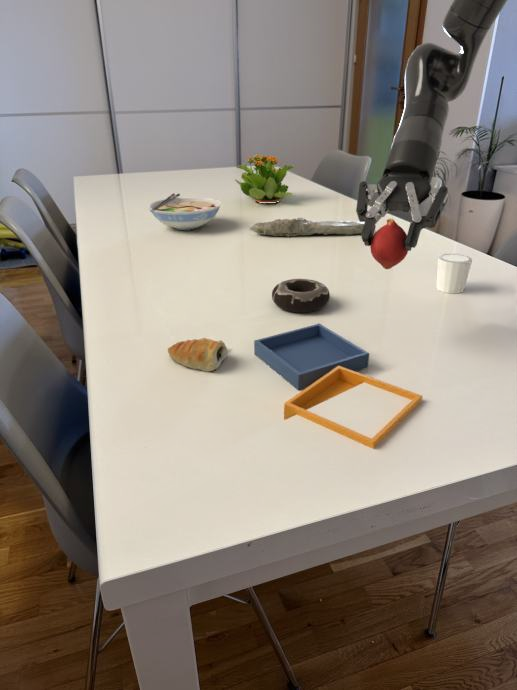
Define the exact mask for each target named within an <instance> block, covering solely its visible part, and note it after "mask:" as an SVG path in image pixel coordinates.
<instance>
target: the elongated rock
mask: <svg viewBox="0 0 517 690" xmlns="http://www.w3.org/2000/svg"><path fill="white" fill-rule="evenodd" d="M364 223H365V222H364V221H363V222H361V221H356V220H345V221H344V220H343V221H340V220H339V221H336V220H326V221H323V220H322V221H321V220H320V221H313V220H308V219H306V218H304V217H297V218H291V219H289V218H284V219H281V218H277V219H274V220H272V221H265V222H256V223H254V224H253V225H252V231H253V232H254V233H257V234H258V235H267V236H273V237H283V236H284V237H287V238H290V237H297V236H311V235H314V234H318V235H321V234H322V235H324V236H326V235H335V234H336V235H346V236H347V235H349V236H352V235H356V234H357V235H359V234H361V233H362V230H363V226H364Z"/></svg>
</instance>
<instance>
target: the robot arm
mask: <svg viewBox="0 0 517 690" xmlns="http://www.w3.org/2000/svg"><path fill="white" fill-rule="evenodd" d="M507 2H508V0H453V1H452V2H451V4H450V6H449V7H448V10H447V12H446V13H445V16H444V18H443V21H442V28H443V30H444V32H445V33H446V34H447V35H448V36H449V37H450V38H451V39H452V40H454V41H455V42H456V43H457V44H458V45H459V46H460V49H461V50H460V52H459V53H456V52H454V51H453V50H450V49H448V48H445V47H443V46H440V45H438V44H436V43H433V42H425V43H422V44H420V45H418V46H416V47H415V49H414V50H413V51H412V52H411V54H410V56H409V58H408V60H407V63H406V67H405V72H404V94H405V95H404V96H405V99H404V109H403V113H402V116H401V119H400V123H399V126H398V128H397V131H396V132H395V135H394V137H393V140H392V143H391V147H390V150H389V153H388V156H387V160H386V163H385V166H384V168H383V169H384V170H383V172H382V176H381V178H380V179H379V180H378V182H377V183H371V184H368V183H367V181H364V180H363V181H360V183H359V185H358V193H357V200H356V201H357V202H356V209H355V212H356V215H357V218H358V222H365V223H364V226H363V230H362V233H360V236H361V241H362V242H363V244H364V246H365V247H370V244H371V239H372V237H373V235H374V234H375V231H376V228H377V226H376V224H377V223H378V222H379V221H380V220H381V219H382V218H384V217H385V216H386V215H387V214H388V213H389V212H397V211H399V212H403V213H409V212H410V216H411V220H412V222H410V224H409V227H408V230H407V233H406V234H407V237H406V241H405V249H406V251H408V252H411V251H412V249H413V248H416V247H417V245H418V242H419V238H420V234H421V232H422V230H423V229H425V228H428V229H434V228H435V227H436V226H437V223H438V221H439V220H440V217H441V215H442V213H443V211H444V209H445V207H446V205H447V202H448V199H449V192H448V190H449V189H448V187H447V186H440V188H436V187H432V184H431V183H432V179H433V176H434V173H435V169H436V165H437V162H438V159H439V157H440V153H441V152H440V151H441V147H442V141H443V140H442V139H443V134H444V130H445V127H446V124H447V121H448V117H449V111H450V106H449V102H453V101H454V100H457V99H458V98H459V97H460V96H462V95H463V93H464V92H465V90H466V88H467V86H468V84H469V81H470V78H471V75H472V72H473V69H474V65H475V62H476V59H477V58H478V57H477V56H478V54H479V52H480V49H481V46H482V45H483V43H484V40H485V39H486V36H487V35H488V33H489V31H490V29H491V28H492V26H493V25H494V23H495V21H496V20H497V18H498V16H499V15H500V13H501V12H502V10H503V9H504V7H505V6H506V4H507ZM375 193H377V195H378V197H376V199H375V200H374V202H373V205H372V207H370V209H369V200H372V198H373V196H374V194H375ZM430 197H431V205H430V208H429V209H428V212H427V213H426V214H425V215H422V213H421V209H420V205H421V204H422V203H424V202H425V201H426V200H427V199H428V198H430ZM368 209H369V210H368Z"/></svg>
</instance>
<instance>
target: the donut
mask: <svg viewBox="0 0 517 690" xmlns="http://www.w3.org/2000/svg"><path fill="white" fill-rule="evenodd" d="M330 298H331V295H330V290H329V288H328V287H327V286H326V285H325V284H324V283H323V282H320V281H318V280H315V279H310V278H309V279H308V278H292V279H287V280H283V281H281V282H279V283H277V284H276V285H275V286H274V287H273V289H272V291H271V300H272V301H273V303H274V304H275V306H277V307H278V308H280V309H281V310H283V311H287V312H291V313H301V314H303V313H310V312H317V311H319V310H321V309H323V308H324V307H325V306H327V304H328V303H329V301H330Z"/></svg>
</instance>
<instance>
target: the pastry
mask: <svg viewBox="0 0 517 690" xmlns="http://www.w3.org/2000/svg"><path fill="white" fill-rule="evenodd" d="M167 353H168V355H169V356H168V357H170V360H172V361H173V362H174V363H177V364H178V365H181V366H183V367H186V368H188V369H191V370H200V371H201V370H202V371H201V372H214V370H215V369H216V370H217V369H219V367H220V366H221V364H222V361H224V360H225V359H226V358H227V356H228V349H227V346H226V344H225V342H224V341H222V339H221V340H214V339H209V338H206V337H202V338H199V339H197V338H196V339H186V340H182V341H178V342H176V343H175V344H173V345H171V346H169V347H168V348H167ZM216 370H215V371H216Z"/></svg>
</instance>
